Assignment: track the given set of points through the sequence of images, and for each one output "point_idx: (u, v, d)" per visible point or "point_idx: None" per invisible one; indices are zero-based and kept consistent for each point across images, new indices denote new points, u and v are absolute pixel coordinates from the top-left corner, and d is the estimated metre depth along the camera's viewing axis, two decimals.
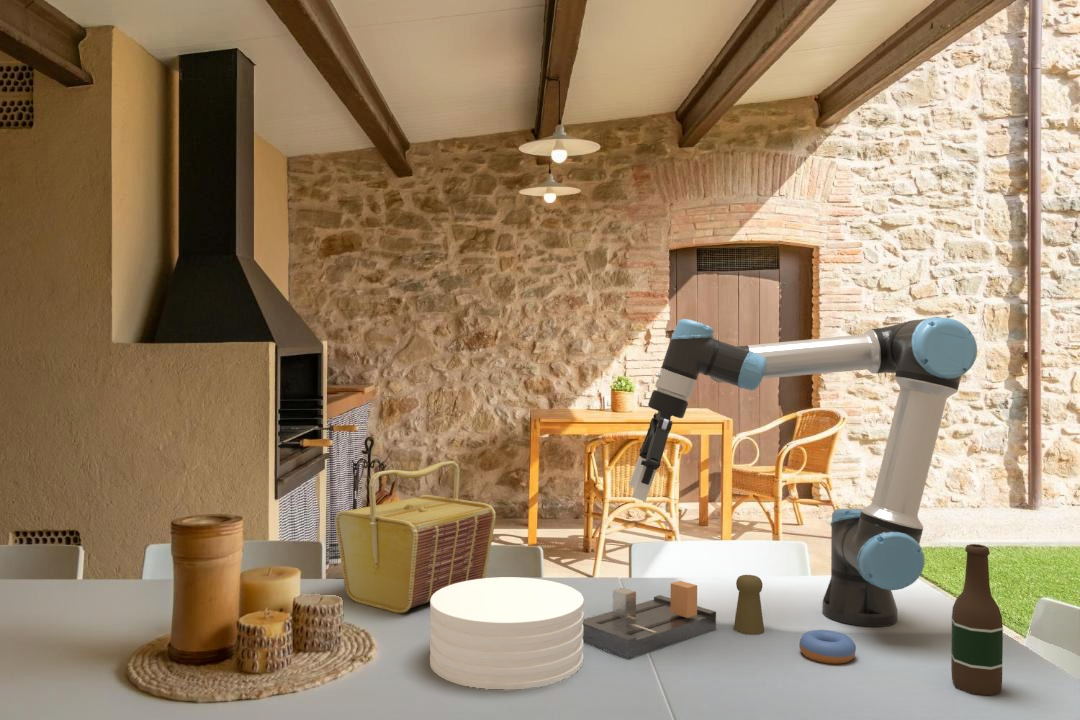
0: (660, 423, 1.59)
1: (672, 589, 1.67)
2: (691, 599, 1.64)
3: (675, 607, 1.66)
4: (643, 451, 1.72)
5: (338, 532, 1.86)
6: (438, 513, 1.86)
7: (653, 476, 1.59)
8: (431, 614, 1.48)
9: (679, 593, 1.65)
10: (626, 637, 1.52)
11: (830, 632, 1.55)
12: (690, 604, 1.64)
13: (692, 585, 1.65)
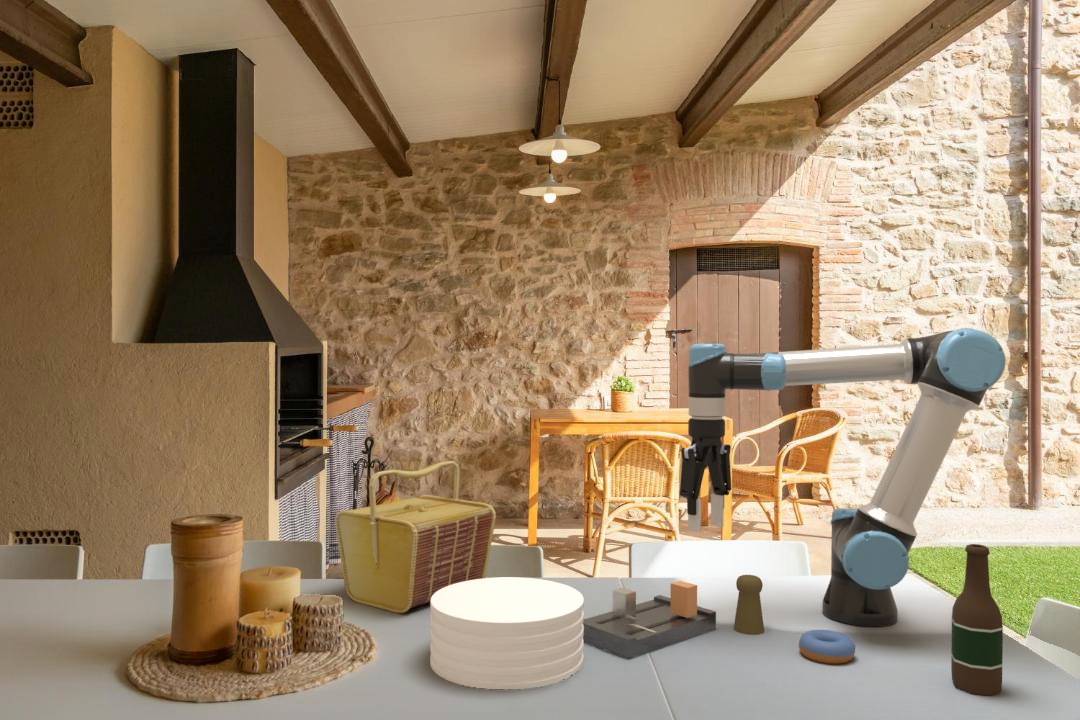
0: (682, 454, 1.67)
1: (672, 589, 1.67)
2: (691, 599, 1.64)
3: (675, 607, 1.66)
4: (713, 485, 1.74)
5: (338, 532, 1.86)
6: (438, 513, 1.86)
7: (698, 506, 1.67)
8: (431, 614, 1.48)
9: (679, 593, 1.65)
10: (626, 637, 1.52)
11: (830, 632, 1.55)
12: (690, 604, 1.64)
13: (692, 585, 1.65)
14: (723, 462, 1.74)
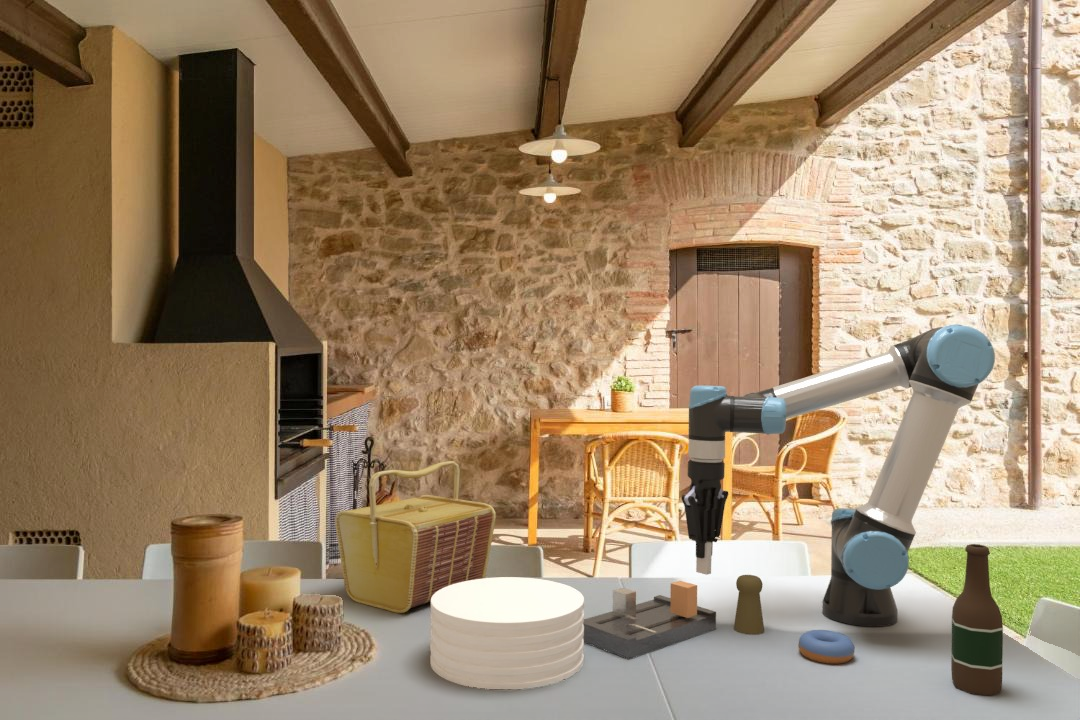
0: (683, 501, 1.68)
1: (672, 589, 1.67)
2: (691, 599, 1.64)
3: (675, 607, 1.66)
4: None
5: (338, 532, 1.86)
6: (438, 513, 1.86)
7: (706, 549, 1.69)
8: (431, 614, 1.48)
9: (679, 593, 1.65)
10: (626, 637, 1.52)
11: (829, 632, 1.55)
12: (690, 604, 1.64)
13: (692, 585, 1.65)
14: (718, 507, 1.73)
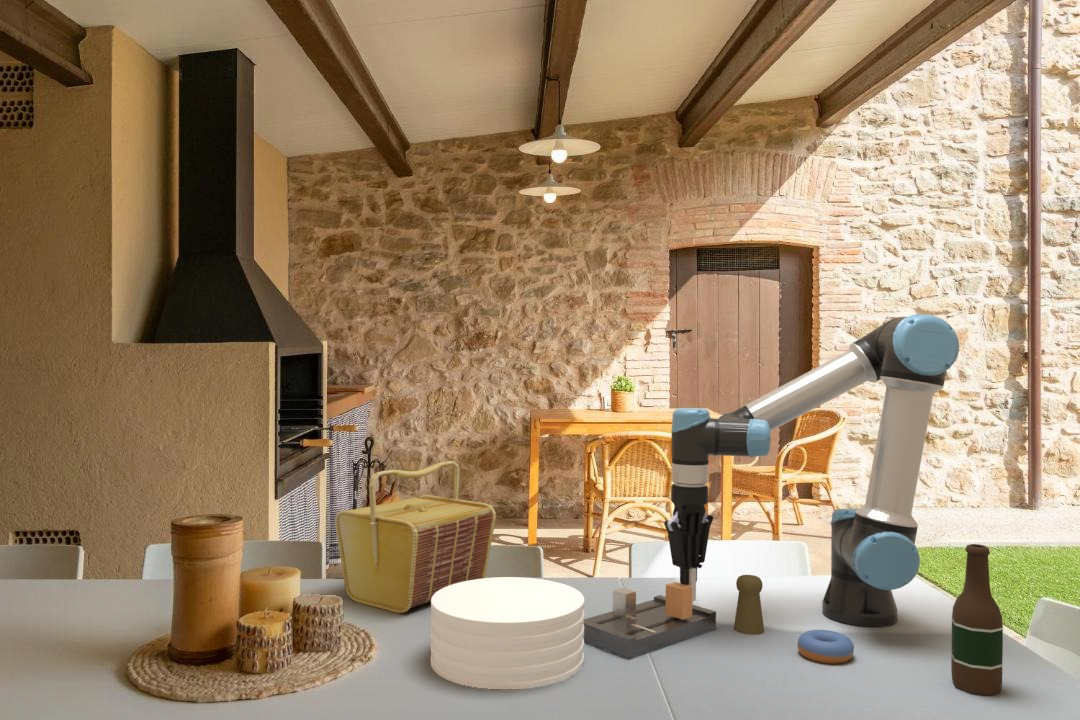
0: (666, 527, 1.64)
1: (667, 591, 1.66)
2: (687, 600, 1.63)
3: (670, 608, 1.65)
4: None
5: (338, 532, 1.86)
6: (438, 513, 1.86)
7: (690, 575, 1.66)
8: (432, 614, 1.48)
9: (674, 595, 1.64)
10: (626, 637, 1.52)
11: (828, 632, 1.55)
12: (686, 606, 1.63)
13: (687, 586, 1.64)
14: (702, 531, 1.69)
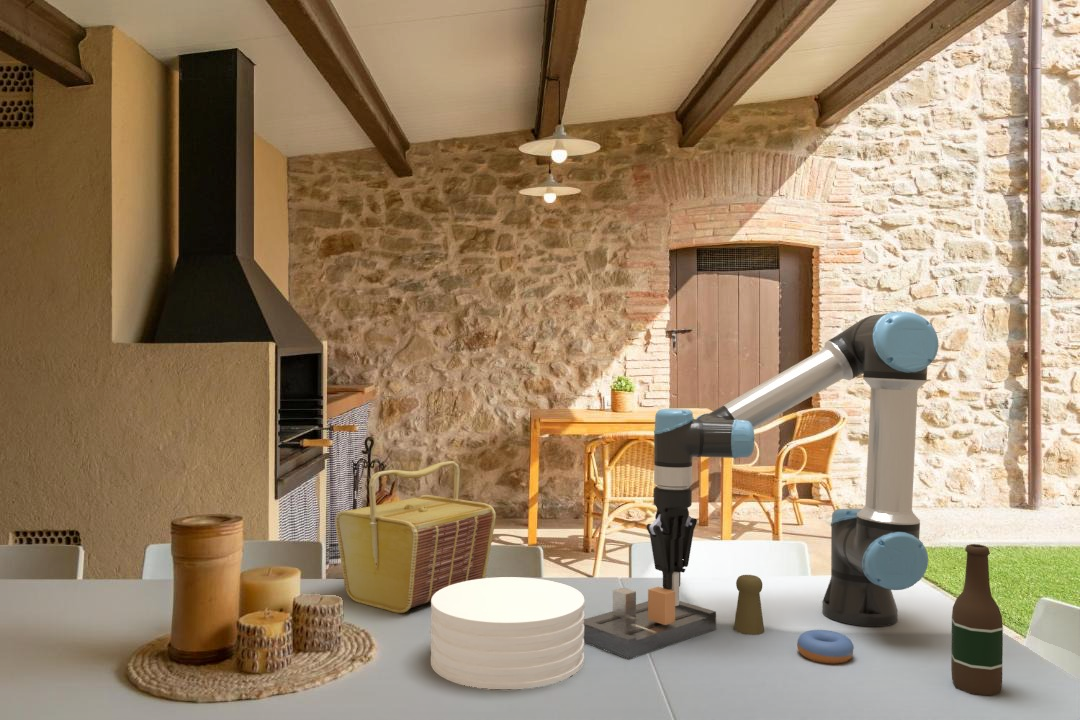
0: (649, 531, 1.61)
1: (649, 596, 1.62)
2: (669, 605, 1.60)
3: (653, 614, 1.61)
4: None
5: (338, 532, 1.86)
6: (438, 513, 1.86)
7: (673, 580, 1.63)
8: (432, 614, 1.48)
9: (656, 600, 1.61)
10: (626, 637, 1.52)
11: (828, 632, 1.55)
12: (668, 611, 1.60)
13: (670, 591, 1.61)
14: (686, 535, 1.66)
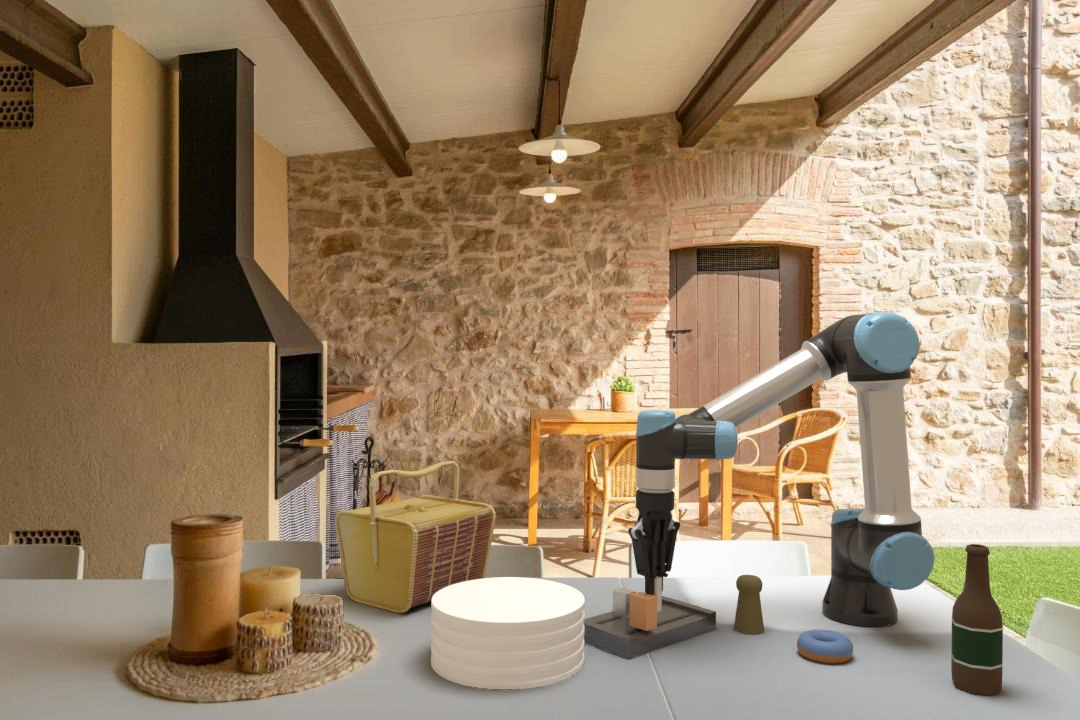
0: (630, 535, 1.57)
1: (631, 601, 1.59)
2: (651, 611, 1.56)
3: (634, 619, 1.58)
4: None
5: (338, 532, 1.86)
6: (438, 513, 1.86)
7: (656, 585, 1.59)
8: (432, 614, 1.48)
9: (638, 605, 1.57)
10: (626, 637, 1.52)
11: (828, 632, 1.55)
12: (650, 616, 1.56)
13: (652, 596, 1.57)
14: (668, 539, 1.62)
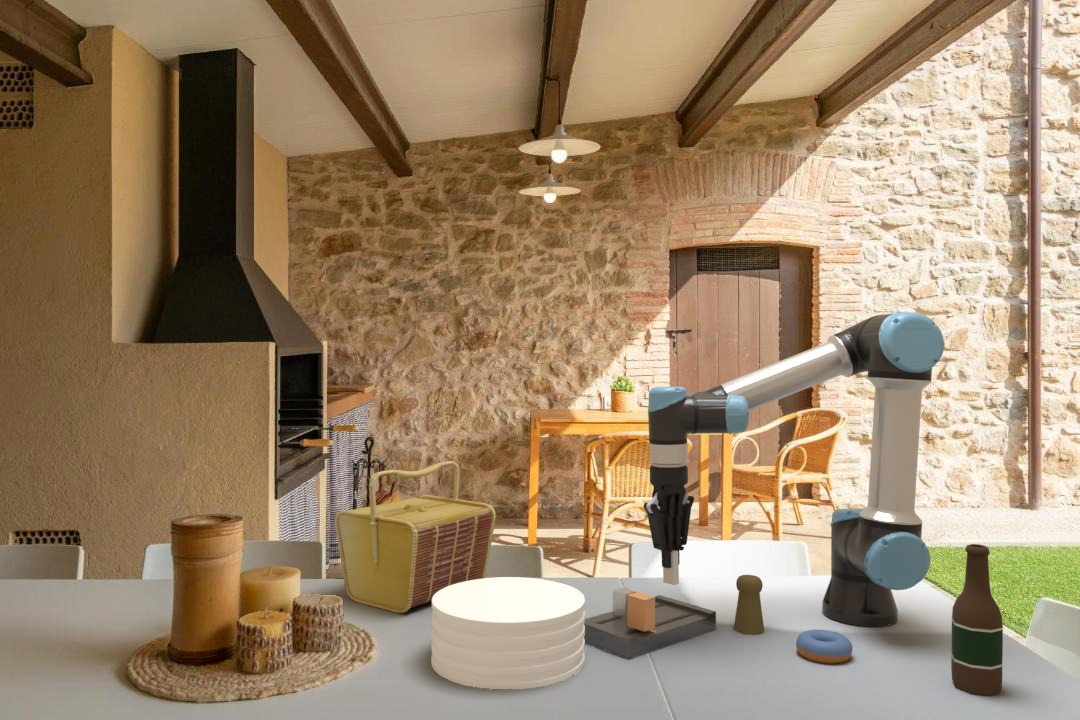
0: (646, 509, 1.60)
1: (628, 601, 1.58)
2: (649, 611, 1.56)
3: (632, 620, 1.58)
4: None
5: (338, 532, 1.86)
6: (438, 513, 1.86)
7: (672, 558, 1.61)
8: (432, 614, 1.48)
9: (636, 606, 1.57)
10: (626, 637, 1.52)
11: (827, 632, 1.56)
12: (648, 617, 1.56)
13: (650, 597, 1.57)
14: (683, 513, 1.65)
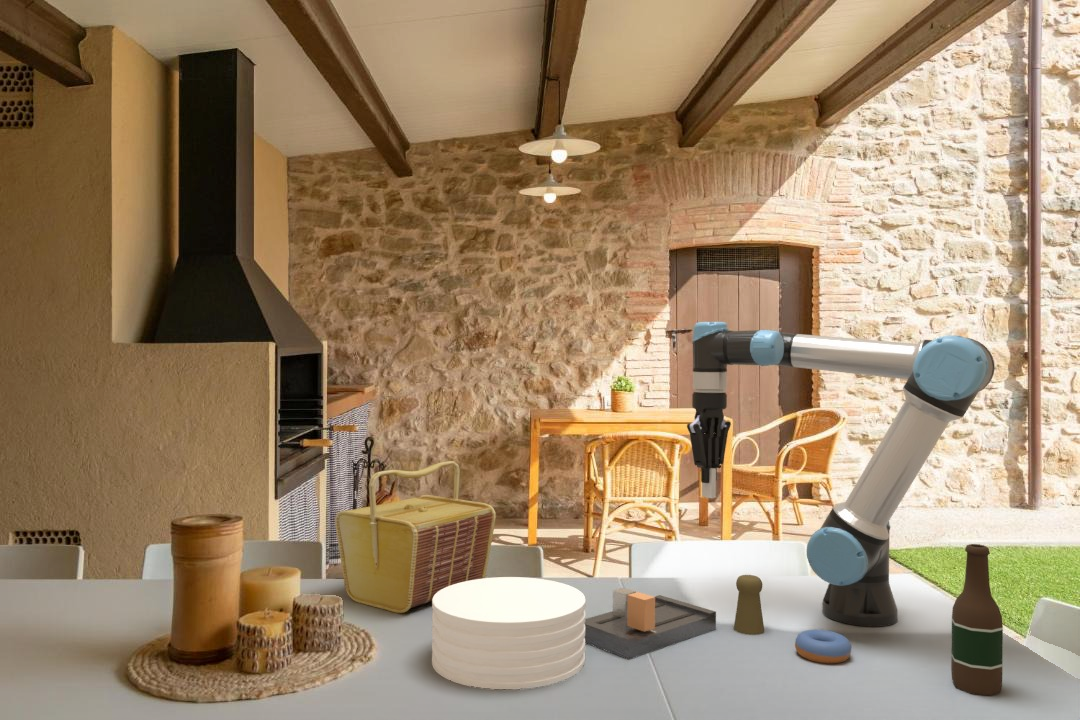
0: (689, 429, 1.79)
1: (628, 601, 1.58)
2: (649, 611, 1.56)
3: (632, 620, 1.58)
4: None
5: (338, 532, 1.86)
6: (438, 513, 1.86)
7: (711, 475, 1.81)
8: (433, 614, 1.48)
9: (636, 606, 1.57)
10: (626, 637, 1.52)
11: (826, 632, 1.56)
12: (648, 617, 1.56)
13: (650, 597, 1.57)
14: (721, 436, 1.85)
